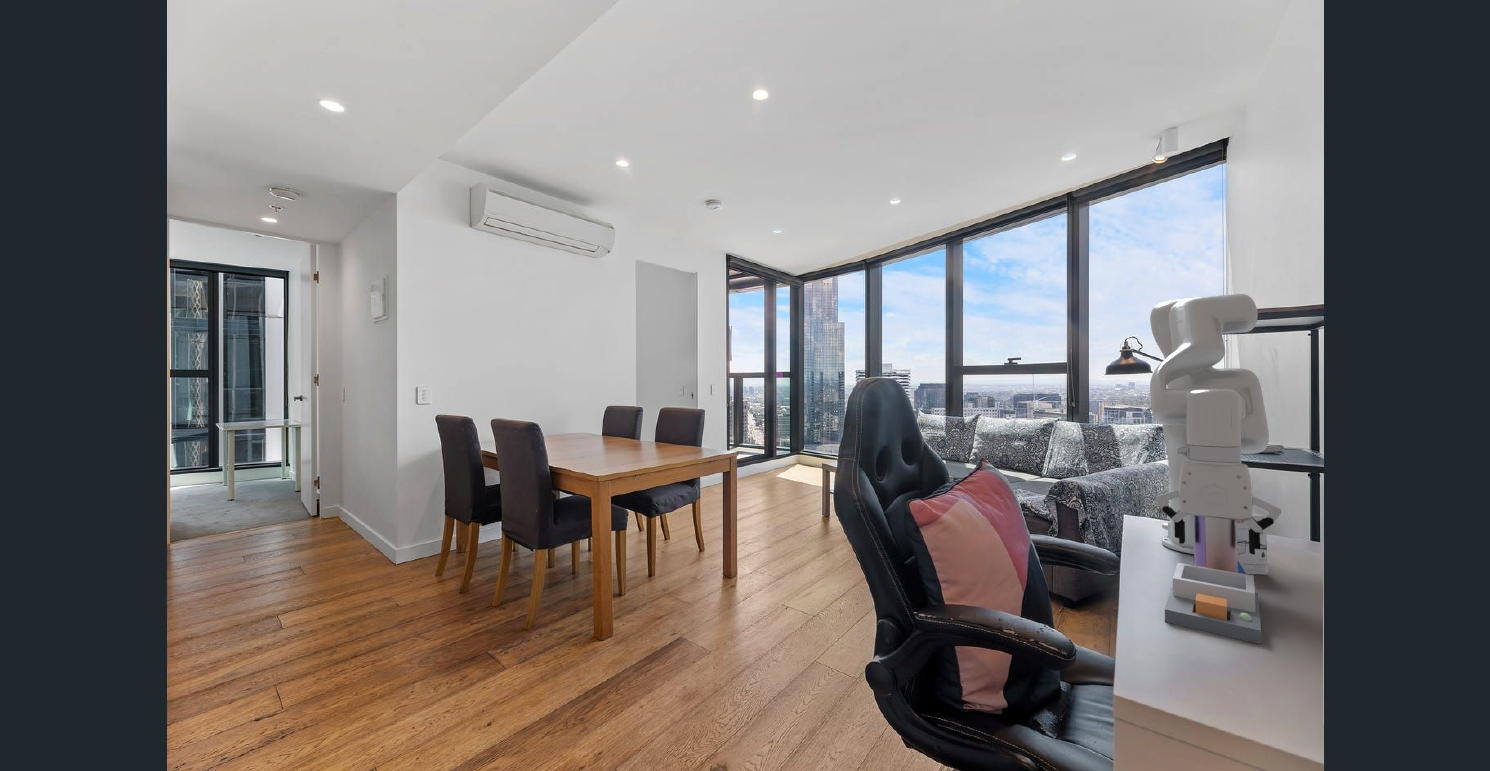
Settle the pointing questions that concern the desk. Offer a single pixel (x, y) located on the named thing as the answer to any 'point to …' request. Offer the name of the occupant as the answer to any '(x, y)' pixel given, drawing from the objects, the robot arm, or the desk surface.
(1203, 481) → the robot arm
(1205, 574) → the panel
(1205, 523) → the beverage can
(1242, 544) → the ink box
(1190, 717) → the desk surface
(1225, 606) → the button
